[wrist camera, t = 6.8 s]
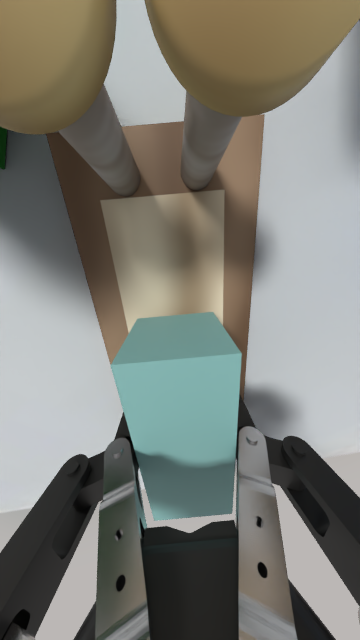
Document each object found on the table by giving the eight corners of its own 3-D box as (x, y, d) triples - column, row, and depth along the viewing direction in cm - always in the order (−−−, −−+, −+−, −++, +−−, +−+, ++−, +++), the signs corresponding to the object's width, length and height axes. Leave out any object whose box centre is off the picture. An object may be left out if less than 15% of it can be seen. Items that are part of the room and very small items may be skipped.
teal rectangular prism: (213, 311, 11) (241, 353, 6) (214, 435, 15) (232, 513, 11) (137, 318, 11) (110, 365, 6) (160, 440, 15) (154, 520, 11)
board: (253, 130, 10) (842, -784, 1) (237, 419, 18) (293, 564, 9) (60, 147, 10) (-792, -666, 1) (134, 428, 18) (99, 582, 9)
